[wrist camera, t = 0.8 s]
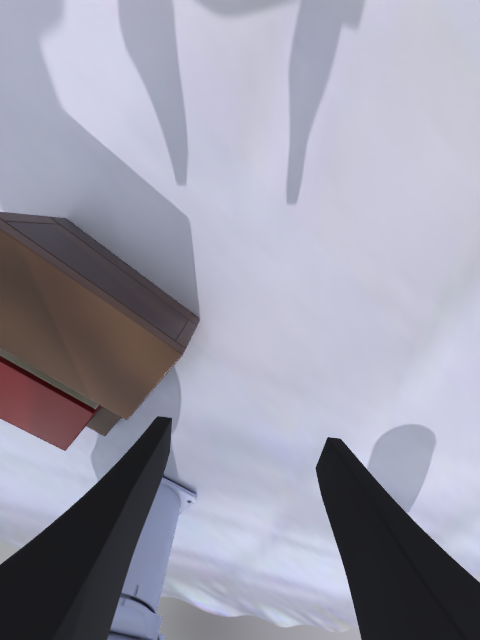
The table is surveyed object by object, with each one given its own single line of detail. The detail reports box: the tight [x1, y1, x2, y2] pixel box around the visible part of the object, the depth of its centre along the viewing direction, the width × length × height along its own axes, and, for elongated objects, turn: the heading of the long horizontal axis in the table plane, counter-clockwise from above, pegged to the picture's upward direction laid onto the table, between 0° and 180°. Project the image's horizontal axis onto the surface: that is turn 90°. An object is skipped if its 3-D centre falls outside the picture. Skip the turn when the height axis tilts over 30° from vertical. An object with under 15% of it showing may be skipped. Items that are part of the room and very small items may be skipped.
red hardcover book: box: [0, 348, 101, 451], centre depth 18 cm, size 5×8×3 cm, turn 50°
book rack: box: [0, 212, 200, 436], centre depth 17 cm, size 15×12×6 cm
